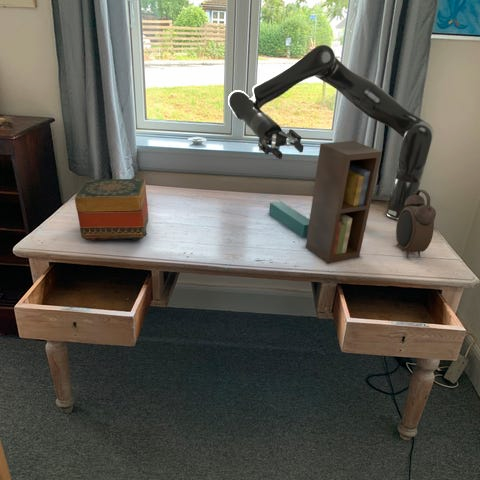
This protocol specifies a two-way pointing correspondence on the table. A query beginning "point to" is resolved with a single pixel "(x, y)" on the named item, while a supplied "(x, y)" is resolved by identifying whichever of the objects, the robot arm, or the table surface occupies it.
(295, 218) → the pencil box
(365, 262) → the table surface
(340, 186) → the bookcase
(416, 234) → the alarm clock
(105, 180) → the decorative box
